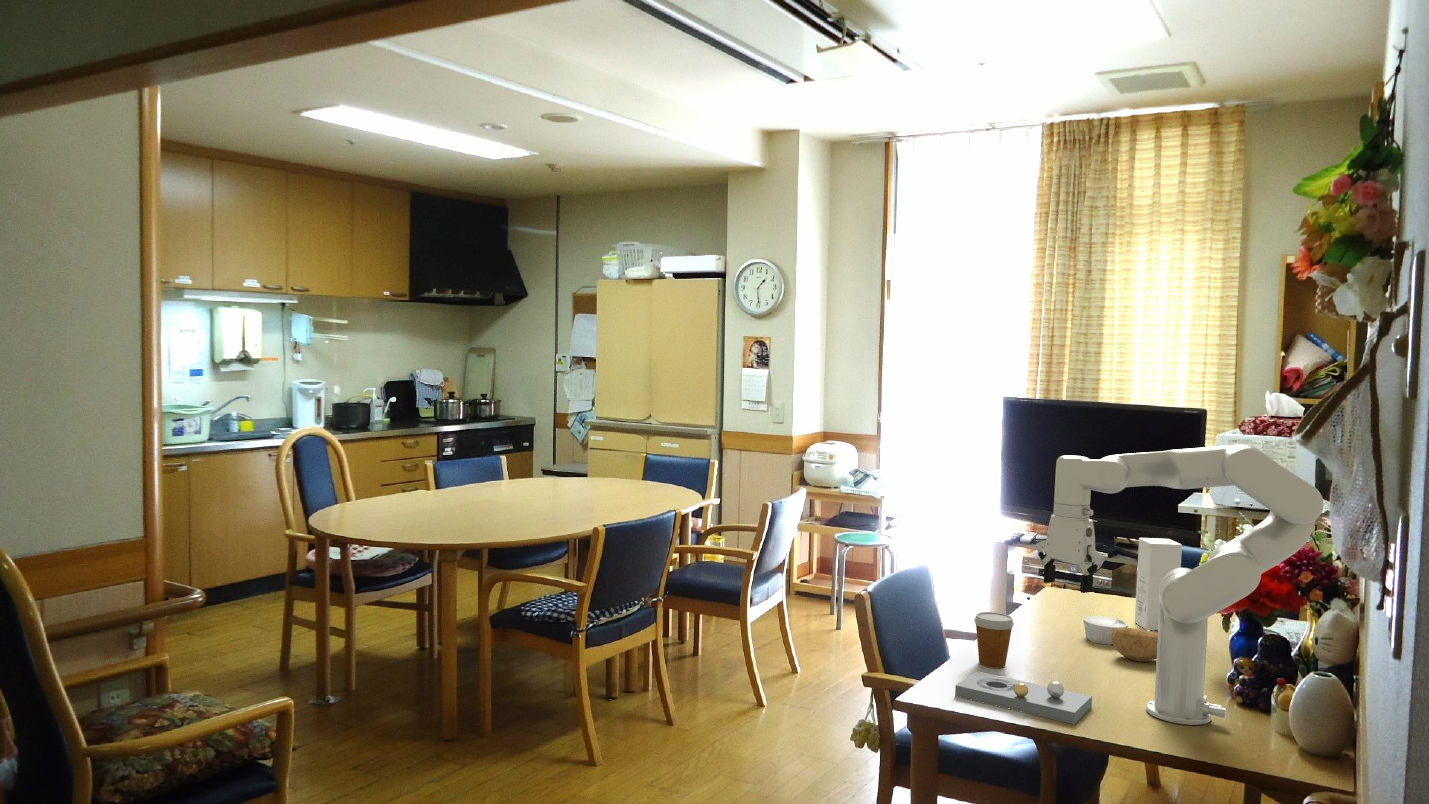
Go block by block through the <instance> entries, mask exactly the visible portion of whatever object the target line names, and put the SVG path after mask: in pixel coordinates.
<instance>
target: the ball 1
mask: <svg viewBox="0 0 1429 804" xmlns="http://www.w3.org/2000/svg"><path fill="white" fill-rule="evenodd" d="M1014 693H1015V694H1016V695H1017V696H1018V697H1025V696H1026V695H1027V694H1028V687H1027V686H1026V685H1025V684H1023V683H1018V684H1016V685H1015V687H1014Z"/></svg>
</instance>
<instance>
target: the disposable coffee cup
mask: <svg viewBox="0 0 1429 804" xmlns="http://www.w3.org/2000/svg"><path fill="white" fill-rule="evenodd" d="M973 621H974V624H975V629H976V630H975V631H976V639H977V640H976V643H977V653H978V654H977V655H978V663H979V665H981V666H983V667H986V668H990V669H991V668H992V669H1002V668H1005V667H1006V663H1007V659H1008V658H1007V657H1008V652H1009V646H1010V642H1011V634H1012V628H1014V627H1013V626H1014V625H1015V622H1014V620H1013V617H1012V616H1011V615H1008V614H1005V613H1001V612H996V611H995V612H993V611H982V612H978V613H976V616H975V618H973Z"/></svg>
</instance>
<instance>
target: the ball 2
mask: <svg viewBox="0 0 1429 804" xmlns="http://www.w3.org/2000/svg"><path fill="white" fill-rule="evenodd" d="M1046 686H1047V692H1048V694H1049V695H1050V696H1051V697H1053V698H1060V697H1061V696H1062V695H1063V694H1064V690H1065V688H1064V686H1063V684H1062V683H1060V682H1059V681H1050V683H1048V685H1046Z"/></svg>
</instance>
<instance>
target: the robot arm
mask: <svg viewBox="0 0 1429 804" xmlns="http://www.w3.org/2000/svg"><path fill="white" fill-rule="evenodd" d="M1054 477H1055V478H1054V479H1055V483H1054V497H1053V501H1054V502H1053V513H1052V514H1051V516H1050V519H1049V524H1048V528H1047V534H1046V539H1045V540H1041V541H1038V542H1036V543H1035V548H1036V551H1037V553H1038V554H1037V556H1038V557H1039V559H1040V560H1041V565H1043V583H1044V584H1051V583H1055V581H1056V568H1057V567H1056V564H1055V562H1057V561H1060V562H1064V563H1068V564H1072V565H1077V566H1079V568H1080V570H1081V571H1082V573H1083V574H1081V575H1080V585H1079V586H1080V589H1079V591H1080V593H1082V594H1085V593H1091V592H1092V589H1093V582H1094V575H1095V574H1096V573H1097V572H1098V571H1099V570H1101V567H1102V565H1103V564H1104V562H1105V560H1106V559H1105V556H1103V555H1102V554H1101V553H1100V552H1099V551H1097V550H1096V535H1095V526H1094V521H1093V519H1090V516H1091V517H1092V516H1093V515H1094V510H1093V509H1091V505H1090V504H1091V494H1092V493H1091V491H1095V492H1100V493H1105V494H1116V493H1120V492H1121V491H1123V490H1124V489H1125V488H1131V487H1132V488H1133V487H1149V486H1151V487H1154V486H1155V487H1167V488H1171V489H1175V490H1176V489H1177V490H1178V489H1179V490H1190V489H1205V488H1206V489H1207V488H1217V487H1232V486H1233V487H1234V486H1235V487H1236V488H1237V489H1239V490H1240V491H1242V492H1243V493H1245V494H1246V495H1247V496H1248V497H1250V498H1251V499H1253V500H1254V501H1255V502H1257V503H1259V504H1260V505H1261V506H1263V507H1264V508H1266V509H1267V510H1269V513H1268V514H1267V516H1266V518H1265V519H1263V520H1262V521H1261V522H1260V523H1258V524H1256V525H1255V526H1253V527H1252V528H1250V529H1248V530H1247V531H1246V532H1244V533H1242V534H1240V535H1238V536H1236V537H1235V538H1233V539H1230V540H1229V541H1227V542H1224V543H1223V544H1221V545H1218V546H1217V547H1215V548H1214V549H1213V550H1212V551H1210V552H1209V554H1208V557H1207V560H1206V561H1204V563H1202V564H1200V565H1198V566H1195V567H1194V568H1192V569H1191V568H1188V567H1181V568H1177V569H1174V570H1171V571H1170V572H1168V573H1167V574H1166V575H1165V576H1164V578H1163V579H1162V581H1161V584H1160V590H1159V624H1158V631H1157V632H1158V641H1157V659H1155V660H1156V663H1155V680H1154V681H1155V684H1154V685H1155V686H1154V700H1151V701H1148V702H1147V703H1146V707H1145V710H1146V712H1147V713H1149V715H1150V716H1153V717H1155V718H1156V719H1160V720H1161V721H1166V722H1169V723H1172V724H1173V723H1174V724H1178V725H1187V726H1188V725H1189V726H1200V725H1206V724H1208V723H1210V722H1211V719H1212V716H1215V717H1217V718H1223V719H1226V717H1227V708H1223V707H1222V705H1220V704H1215V703H1210V701H1208V695H1205V680H1206V679H1205V678H1206V662H1207V661H1206V660H1207V647H1208V643H1207V642H1208V630H1209V629H1208V628H1209V627H1208V624H1209V617H1212V616H1213V615H1215V614H1217V613H1219V612H1221V611H1222V610H1225V609H1226V608H1228V607H1230V606H1232V605H1234V604H1235V603H1238V602H1239V601H1240V600H1242V599H1245V598H1246V597H1247V596H1249V595H1250V594H1251V593H1253V592H1254V591H1255V590H1256V589H1257V587H1258V586H1259V584H1260V582H1261V578H1262V574H1264V573H1265V572H1267V571H1269V570H1271V569H1272V568H1274V567H1276V566H1278V565H1279V564H1281V563H1282V562H1284V561H1286V560H1288V559H1289V558H1290V557H1292V556H1293V555H1295V554H1296V553H1297V552H1298V551H1299V550H1301V549H1302V548H1303V547H1304V545H1306V544H1307V542H1308V540H1309V539H1310V537H1311V535H1312V533H1313V530H1314V527H1315V525H1316V521H1317V519H1318V518H1319V517H1320V516H1321V514H1322V512H1323V510H1324V506H1325V505H1324V499H1323V495H1322V494H1321V492H1320V491H1319V490H1318V489H1317V488H1316V487H1315V486H1314V485H1312V484H1311V483H1310V482H1308V481H1307V480H1304V479H1302V478H1301V477H1299V476H1298V475H1296V474H1294V473H1293V472H1291V471H1290V470H1288V469H1287V468H1285V467H1284V466H1282V465H1281V464H1280V463H1278V462H1277V461H1275V460H1274V459H1272V458H1271V457H1270V456H1269V455H1267V454H1266V453H1264V452H1263V451H1261V450H1260V449H1259V448H1257V447H1256V446H1253V445H1252V444H1251V445H1250V444H1242V443H1241V444H1229V445H1219V446H1218V445H1217V446H1215V445H1214V446H1205V447H1204V446H1203V447H1195V448H1194V447H1193V448H1182V449H1181V448H1180V449H1170V450H1169V449H1168V450H1163V451H1149V452H1136V453H1135V452H1134V453H1122V454H1112V455H1107V456H1104V457H1101V458H1100V459H1090V457H1086V456H1081V455H1061V456H1059V457H1058V458H1057V459H1056V464H1055V476H1054Z"/></svg>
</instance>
